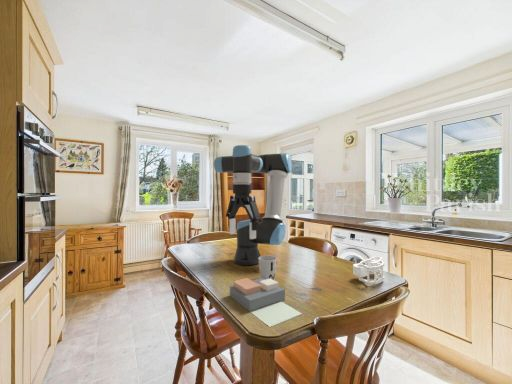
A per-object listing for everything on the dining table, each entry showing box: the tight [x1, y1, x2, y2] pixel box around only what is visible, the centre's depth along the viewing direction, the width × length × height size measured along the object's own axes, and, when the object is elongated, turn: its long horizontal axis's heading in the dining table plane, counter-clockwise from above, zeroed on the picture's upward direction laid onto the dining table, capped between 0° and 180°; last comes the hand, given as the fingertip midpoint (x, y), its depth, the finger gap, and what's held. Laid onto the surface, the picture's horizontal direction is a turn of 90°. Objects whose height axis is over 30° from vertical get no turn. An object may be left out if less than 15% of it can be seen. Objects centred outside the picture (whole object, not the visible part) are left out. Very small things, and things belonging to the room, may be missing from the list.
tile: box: [233, 277, 260, 295], centre depth 86 cm, size 9×6×2 cm, turn 34°
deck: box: [229, 277, 286, 313], centre depth 87 cm, size 14×15×4 cm
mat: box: [250, 301, 303, 328], centre depth 76 cm, size 10×13×1 cm
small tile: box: [259, 278, 279, 291], centre depth 87 cm, size 5×5×2 cm
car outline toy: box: [352, 256, 385, 285], centre depth 108 cm, size 20×11×7 cm, turn 128°
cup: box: [258, 255, 277, 281], centre depth 104 cm, size 8×8×10 cm
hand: (242, 236), depth 96 cm, fingers open, 13 cm apart
